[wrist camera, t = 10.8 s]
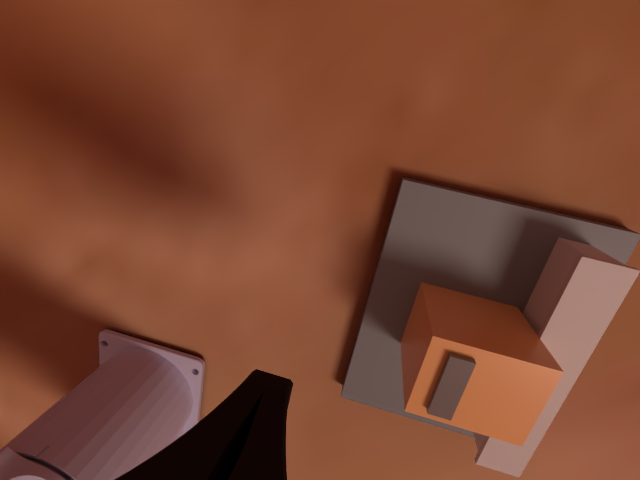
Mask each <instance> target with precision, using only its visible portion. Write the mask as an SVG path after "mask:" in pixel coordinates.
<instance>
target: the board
mask: <svg viewBox="0 0 640 480" xmlns="http://www.w3.org/2000/svg"><path fill="white" fill-rule="evenodd" d="M639 239H640V234H639V233H637V232H634V231H632V230H630V229H627V228H623V227H619V226H614V225H610V224H606V223H601V222H597V221H592V220H588V219H584V218H579V217H575V216H571V215H566V214H562V213H558V212H553V211H549V210H545V209H540V208H536V207H532V206H527V205H523V204H519V203H514V202H510V201H505V200H501V199H497V198H492V197H488V196H484V195H479V194H475V193H471V192H466V191H462V190H458V189H453V188H449V187H445V186H440V185H436V184H432V183H427V182H423V181H419V180H414V179H410V178H405V177H402V180H401V183H400V187H399V190H398V194H397V197H396V201H395V204H394V208H393V211H392V215H391V218H390V222H389V225H388V229H387V232H386V236H385V239H384V243H383V246H382V250H381V253H380V257H379V260H378V264H377V267H376V271H375V274H374V278H373V281H372V285H371V288H370V292H369V295H368V299H367V302H366V306H365V309H364V313H363V316H362V320H361V323H360V327H359V330H358V334H357V337H356V341H355V344H354V348H353V351H352V355H351V358H350V362H349V365H348V369H347V372H346V376H345V379H344V383H343V387H342V393H341V397H343V398H346V399H349V400H352V401H356V402H359V403H362V404H366V405H369V406H372V407H375V408H379V409H382V410H385V411H389V412H392V413H395V414H398V415H402V416H405V417H408V418H412V419H415V420H418V421H421V422H425V423H428V424H431V425H435V426H438V427H441V428H444V429H448V430H451V431H454V432H458V433H461V434H464V435H467V436H471V437H474V438H475V441H476V444H477V448H478V453H477V455H476V457H475V463H476V464H477V465H481V466H484V467H487V468H490V469H493V470H497V471H500V472H503V473H506V474H509V475H513V476H516V477H520V475H521V473H522V472H523V470H524V468H525V467H526V465H527V463H528V462H529V460H530V458H531V456H532V455H533V453H534V451H535V450H536V448H537V446H538V445H539V443H540V441H541V439H542V438H543V436H544V434H545V433H546V431H547V429H548V427H549V426H550V424H551V422H552V421H553V419H554V417H555V416H556V414H557V412H558V410H559V409H560V407H561V405H562V404H563V402H564V400H565V399H566V397H567V395H568V393H569V392H570V390H571V388H572V387H573V385H574V383H575V381H576V380H577V378H578V376H579V375H580V373H581V371H582V370H583V368H584V366H585V364H586V363H587V361H588V359H589V358H590V356H591V354H592V352H593V351H594V349H595V347H596V346H597V344H598V342H599V341H600V339H601V337H602V335H603V334H604V332H605V330H606V329H607V327H608V325H609V324H610V322H611V320H612V318H613V317H614V315H615V313H616V312H617V310H618V308H619V306H620V305H621V303H622V301H623V300H624V298H625V296H626V295H627V293H628V291H629V289H630V288H631V286H632V284H633V283H634V281H635V279H636V278H637V276H638V274H639V272H640V270H638V269H637V268H634V267H630V266H626V265H625V264H626V262H627V261H628V259H629V257H630V255H631V254H632V252H633V250H634V248H635V247H636V245H637V243H638V241H639ZM421 282H422V283H426V284H430V285H434V286H438V287H442V288H446V289H449V290H453V291H457V292H461V293H465V294H469V295H473V296H476V297H480V298H484V299H488V300H492V301H496V302H499V303H503V304H507V305H511V306H515V307H518V309H519V310H520V311H521V313H522V314H523V316H524V317H525V318H526V320H527V321H528V323H529V324H530V325H531V327H532V328H533V330H534V331H535V332H536V334H537V335H538V337H539V338H540V339H541V341H542V342H543V344H544V345H545V346H546V348H547V349H548V350H549V352H550V353H551V355H552V356H553V357H554V359H555V360H556V362H557V363H558V364H559V366H560V367H561V369H562V370H563V371H564V373H563V375H562V377H561V378H560V380H559V382H558V384H557V385H556V387H555V389H554V391H553V393H552V394H551V396H550V398H549V400H548V401H547V403H546V405H545V407H544V409H543V410H542V412H541V414H540V416H539V417H538V419H537V421H536V423H535V425H534V426H533V428H532V430H531V432H530V433H529V435H528V437H527V439H526V441H525V442H524V444H523V446H518V445H515V444H512V443H508V442H505V441H502V440H498V439H495V438H492V437H488V436H485V435H482V434H478V433H475V432H472V431H469V430H465V429H462V428H459V427H455V426H452V425H449V424H445V423H442V422H439V421H435V420H432V419H429V418H425V417H422V416H419V415H416V414H412V413H409V412H406V411H405V410H404V394H403V378H402V361H401V345H400V343H401V340H402V337H403V334H404V331H405V328H406V325H407V322H408V319H409V317H410V314H411V311H412V308H413V305H414V302H415V299H416V296H417V293H418V290H419V287H420V284H421Z"/></svg>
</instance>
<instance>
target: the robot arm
mask: <svg viewBox="0 0 640 480" xmlns="http://www.w3.org/2000/svg"><path fill="white" fill-rule="evenodd" d="M195 369H196V370H195ZM204 369H205V362H204V361H203V360H202V359H201V358H199V357H196V356H193V355H190V354H187V353H183V352H180V351H177V350H173V349H170V348H167V347H164V346H160V345H157V344H154V343H151V342H147V341H144V340H141V339H137V338H134V337H131V336H128V335H124V334H121V333H118V332H115V331H111V330H108V329H104V330H103V331H101V332H100V333H99V367H98V368H97V369H96V370H95V371H94V372H92V373H91V374H90V375H89V376H88V377H86V378H85V379H84V380H83V381H82V382H80V383H79V384H78V385H77V386H76V387H75V388H73V389H72V390H71V391H70V392H69V393H67V394H66V395H65V396H64V397H63V398H61V399H60V400H59V401H58V402H57V403H55V404H54V405H53V406H52V407H51V408H49V409H48V410H47V411H46V412H45V413H44V414H42V415H41V416H40V417H39V418H38V419H36V420H35V421H34V422H33V423H32V424H30V425H29V426H28V427H27V428H26V429H24V430H23V431H22V432H21V433H20V434H19V435H17V436H16V437H15V438H14V439H13V440H11V441H10V442H9V443H8V444H7V445H5V446H4V447H3V448H2V449H1V450H0V480H287V473H286V418H287V409H288V404H289V400H290V395H291V391H292V386H293V383H292V381H291V380H290V379H287V378H283V377H280V376H277V375H273V374H270V373H267V372H264V371H260V370H257V369H256V370H254V371H253V372H252V373H251V374H250V375H249V376H248V377H247V378H246V379H245V380H244V381H243V383H242V384H241V385H240V386H239V387H238V388H237V389H236V390H235V391H233V392H232V393H231V394H230V395H229V396H228V397H227V398H226V399H225V400H224V401H223V402H222V403H221V404H219V405H218V406H217V407H216V408H215V409H214V410H213V411H212V412H210V413H209V414H208V415H207V416H206V417H204V418H203V419H202V420H201V421H199V418H200V408H201V398H202V388H203V379H204ZM197 370H198V371H197Z"/></svg>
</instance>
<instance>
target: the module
mask: <svg viewBox="0 0 640 480" xmlns="http://www.w3.org/2000/svg"><path fill="white" fill-rule="evenodd" d="M400 345H401V361H402V378H403V394H404V410H405V411H406V412H409V413H412V414H416V415H419V416H422V417H425V418H429V419H432V420H435V421H439V422H442V423H445V424H449V425H452V426H455V427H459V428H462V429H465V430H469V431H472V432H475V433H478V434H482V435H485V436H488V437H492V438H495V439H498V440H502V441H505V442H508V443H512V444H515V445H518V446H523V444H524V442H525V441H526V439H527V437H528V435H529V433H530V432H531V430H532V428H533V426H534V425H535V423H536V421H537V419H538V417H539V416H540V414H541V412H542V410H543V409H544V407H545V405H546V403H547V401H548V400H549V398H550V396H551V394H552V393H553V391H554V389H555V387H556V385H557V384H558V382H559V380H560V378H561V377H562V375H563V373H564V371H563V370H562V369H561V367H560V366H559V364H558V363H557V362H556V360H555V359H554V357H553V356H552V355H551V353H550V352H549V350H548V349H547V348H546V346H545V345H544V344H543V342H542V341H541V339H540V338H539V337H538V335H537V334H536V332H535V331H534V330H533V328H532V327H531V325H530V324H529V323H528V321H527V320H526V318H525V317H524V316H523V314H522V313H521V311H520V310H519V309H518V307H515V306H511V305H507V304H503V303H499V302H496V301H492V300H488V299H484V298H480V297H476V296H473V295H469V294H465V293H461V292H457V291H453V290H449V289H446V288H442V287H438V286H434V285H430V284H426V283H422V282H421V284H420V287H419V290H418V293H417V296H416V299H415V302H414V305H413V308H412V311H411V314H410V317H409V319H408V322H407V325H406V328H405V331H404V334H403V337H402V340H401V343H400Z"/></svg>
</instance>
